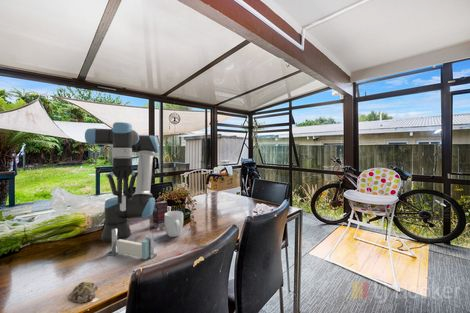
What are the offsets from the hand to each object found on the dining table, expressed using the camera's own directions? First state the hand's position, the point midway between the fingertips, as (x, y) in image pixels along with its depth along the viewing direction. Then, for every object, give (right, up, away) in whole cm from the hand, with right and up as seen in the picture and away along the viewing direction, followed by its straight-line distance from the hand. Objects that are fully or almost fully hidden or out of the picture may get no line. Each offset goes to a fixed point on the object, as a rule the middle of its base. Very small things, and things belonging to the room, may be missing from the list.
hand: (122, 210), depth 92 cm
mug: (+14, -24, +32) cm, 42 cm away
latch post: (+9, -24, +7) cm, 27 cm away
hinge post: (-10, -24, +10) cm, 28 cm away
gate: (+1, -23, +7) cm, 24 cm away
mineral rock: (-3, -26, -19) cm, 32 cm away
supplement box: (-1, -23, +48) cm, 54 cm away
